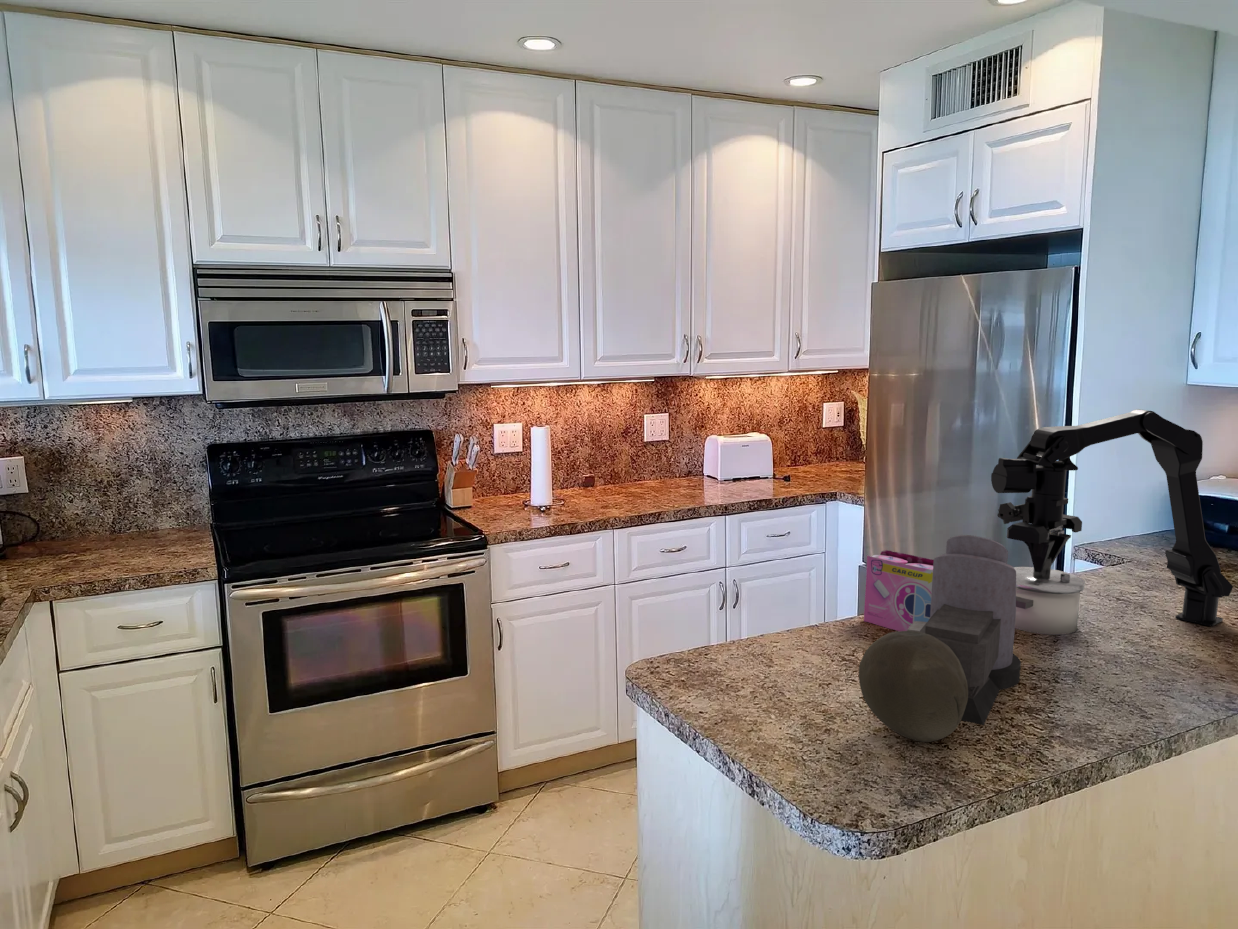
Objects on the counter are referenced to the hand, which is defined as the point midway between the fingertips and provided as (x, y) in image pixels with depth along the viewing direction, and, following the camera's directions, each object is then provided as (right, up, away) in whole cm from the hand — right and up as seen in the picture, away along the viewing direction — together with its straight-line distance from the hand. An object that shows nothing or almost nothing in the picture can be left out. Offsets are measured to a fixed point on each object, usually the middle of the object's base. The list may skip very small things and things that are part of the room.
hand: (1041, 570), depth 167 cm
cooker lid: (0, -3, 0) cm, 2 cm away
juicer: (-27, -15, -28) cm, 42 cm away
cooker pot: (0, -11, +2) cm, 11 cm away
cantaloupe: (-42, -18, -48) cm, 66 cm away
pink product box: (-25, -12, -4) cm, 27 cm away
